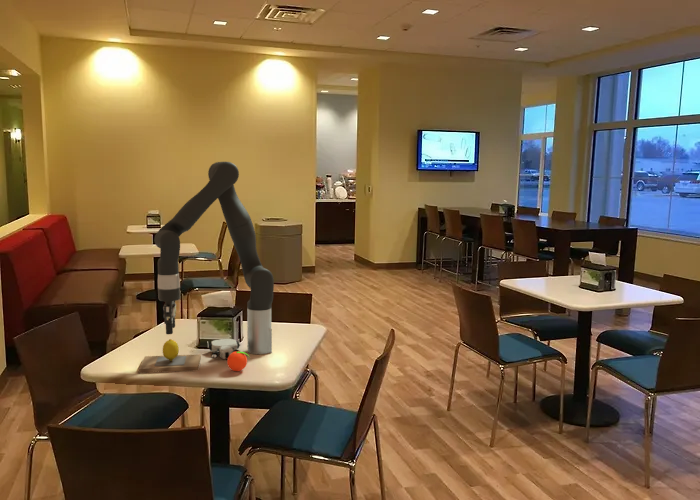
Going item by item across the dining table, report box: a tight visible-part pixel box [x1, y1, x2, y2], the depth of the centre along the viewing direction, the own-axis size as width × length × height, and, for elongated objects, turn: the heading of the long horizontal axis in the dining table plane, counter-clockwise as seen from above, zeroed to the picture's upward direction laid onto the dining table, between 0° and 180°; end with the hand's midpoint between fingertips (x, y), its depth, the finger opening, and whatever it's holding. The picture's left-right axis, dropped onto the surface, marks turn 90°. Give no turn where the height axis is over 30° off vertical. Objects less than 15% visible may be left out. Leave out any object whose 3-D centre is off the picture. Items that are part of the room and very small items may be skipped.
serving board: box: [138, 353, 202, 374], centre depth 214 cm, size 20×14×2 cm
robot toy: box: [207, 338, 241, 360], centre depth 227 cm, size 12×4×15 cm
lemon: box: [162, 338, 180, 361], centre depth 213 cm, size 6×6×8 cm
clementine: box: [226, 350, 251, 372], centre depth 209 cm, size 8×7×7 cm
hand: (170, 330), depth 212 cm, fingers open, 8 cm apart
